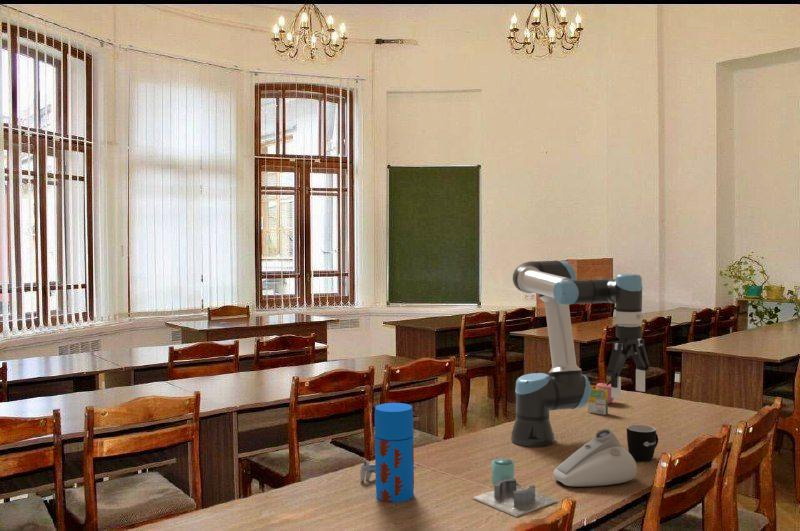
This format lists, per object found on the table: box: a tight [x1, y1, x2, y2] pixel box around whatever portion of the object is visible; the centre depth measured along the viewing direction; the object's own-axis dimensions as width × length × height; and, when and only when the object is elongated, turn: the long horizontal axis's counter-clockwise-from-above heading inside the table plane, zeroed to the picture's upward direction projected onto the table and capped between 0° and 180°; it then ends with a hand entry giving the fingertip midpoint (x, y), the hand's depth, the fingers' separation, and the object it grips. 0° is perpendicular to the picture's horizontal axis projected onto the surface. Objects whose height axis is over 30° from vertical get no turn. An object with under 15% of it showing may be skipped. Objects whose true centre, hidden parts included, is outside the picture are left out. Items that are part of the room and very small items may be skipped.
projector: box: [552, 428, 638, 487], centre depth 202 cm, size 22×23×15 cm
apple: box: [595, 379, 615, 405], centre depth 295 cm, size 10×9×10 cm
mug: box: [626, 423, 659, 463], centre depth 220 cm, size 12×9×10 cm
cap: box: [491, 457, 515, 485], centre depth 200 cm, size 6×6×6 cm
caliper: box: [360, 460, 416, 483], centre depth 208 cm, size 20×1×6 cm, turn 128°
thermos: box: [374, 402, 415, 503], centre depth 191 cm, size 11×11×25 cm
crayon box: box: [587, 384, 609, 415], centre depth 279 cm, size 7×3×12 cm, turn 58°
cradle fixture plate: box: [472, 478, 558, 518], centre depth 186 cm, size 16×16×4 cm
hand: (628, 394), depth 207 cm, fingers open, 13 cm apart
